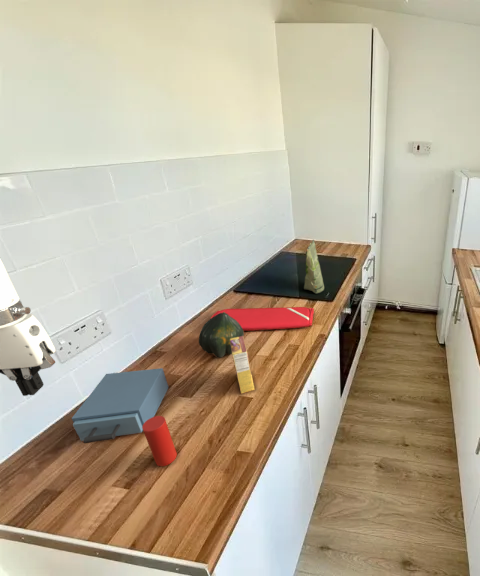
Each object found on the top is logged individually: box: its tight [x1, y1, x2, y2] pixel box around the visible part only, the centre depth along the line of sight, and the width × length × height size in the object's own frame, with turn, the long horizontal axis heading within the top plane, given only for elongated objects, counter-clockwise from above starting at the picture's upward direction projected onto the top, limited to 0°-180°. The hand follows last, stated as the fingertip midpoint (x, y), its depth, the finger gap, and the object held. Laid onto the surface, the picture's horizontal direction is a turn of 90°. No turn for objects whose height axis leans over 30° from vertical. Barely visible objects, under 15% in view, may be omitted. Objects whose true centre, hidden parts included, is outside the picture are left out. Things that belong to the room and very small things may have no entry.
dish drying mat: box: [209, 306, 315, 332], centre depth 136 cm, size 16×41×4 cm, turn 97°
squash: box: [198, 312, 245, 359], centre depth 117 cm, size 14×15×15 cm
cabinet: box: [71, 367, 170, 426], centre depth 90 cm, size 17×15×8 cm
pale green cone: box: [303, 239, 325, 294], centre depth 161 cm, size 11×12×25 cm
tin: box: [142, 415, 178, 467], centre depth 77 cm, size 4×4×12 cm
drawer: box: [72, 413, 143, 444], centre depth 87 cm, size 20×13×6 cm
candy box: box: [230, 336, 255, 395], centre depth 101 cm, size 9×4×15 cm, turn 28°
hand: (34, 390), depth 67 cm, fingers closed
